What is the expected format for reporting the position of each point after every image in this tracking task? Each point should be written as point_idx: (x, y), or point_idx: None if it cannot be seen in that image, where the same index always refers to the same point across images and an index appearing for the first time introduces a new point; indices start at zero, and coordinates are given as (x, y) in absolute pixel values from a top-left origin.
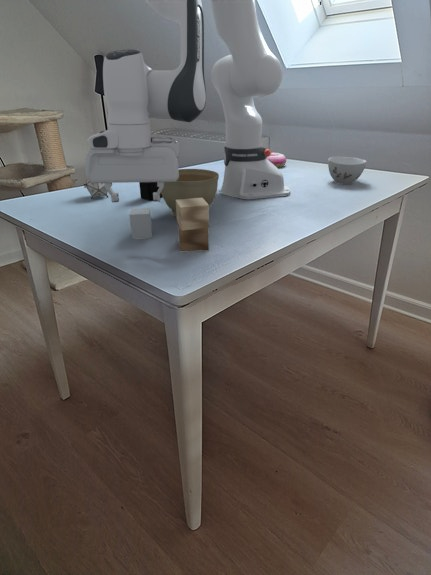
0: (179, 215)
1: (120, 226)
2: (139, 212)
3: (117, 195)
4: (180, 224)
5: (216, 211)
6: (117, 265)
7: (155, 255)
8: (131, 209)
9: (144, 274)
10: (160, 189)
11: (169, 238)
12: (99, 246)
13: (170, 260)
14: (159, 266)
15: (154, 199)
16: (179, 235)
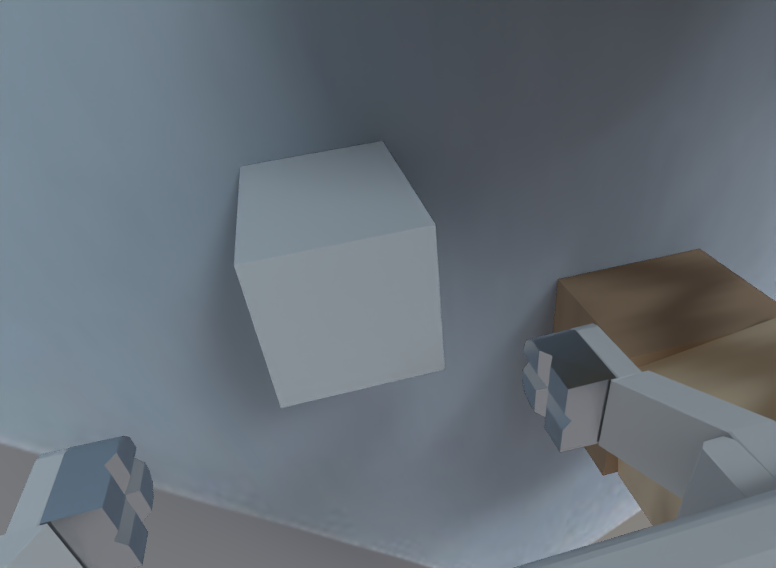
0: (663, 510)
1: (31, 8)
2: (355, 352)
3: (139, 548)
4: (632, 477)
5: None
6: (306, 522)
7: (444, 434)
8: (246, 286)
9: (421, 543)
10: (677, 481)
11: (505, 252)
12: (113, 401)
13: (505, 457)
14: (466, 497)
15: (544, 405)
16: (591, 451)
